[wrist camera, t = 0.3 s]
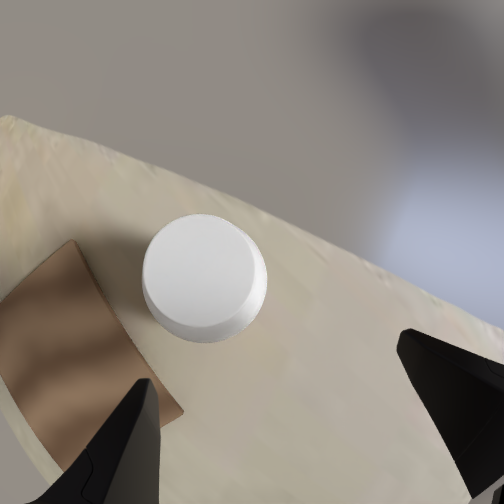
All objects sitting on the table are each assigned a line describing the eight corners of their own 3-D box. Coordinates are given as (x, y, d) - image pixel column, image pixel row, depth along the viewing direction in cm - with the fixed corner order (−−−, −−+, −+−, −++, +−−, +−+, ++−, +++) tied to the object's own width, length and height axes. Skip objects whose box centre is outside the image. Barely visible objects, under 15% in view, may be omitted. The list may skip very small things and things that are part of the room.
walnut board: (184, 411, 21) (182, 414, 20) (70, 471, 18) (66, 474, 17) (76, 241, 23) (71, 238, 22) (-15, 325, 20) (-21, 325, 19)
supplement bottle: (156, 304, 23) (90, 290, 11) (198, 238, 25) (176, 164, 12) (224, 347, 23) (226, 382, 11) (265, 279, 25) (308, 242, 12)
